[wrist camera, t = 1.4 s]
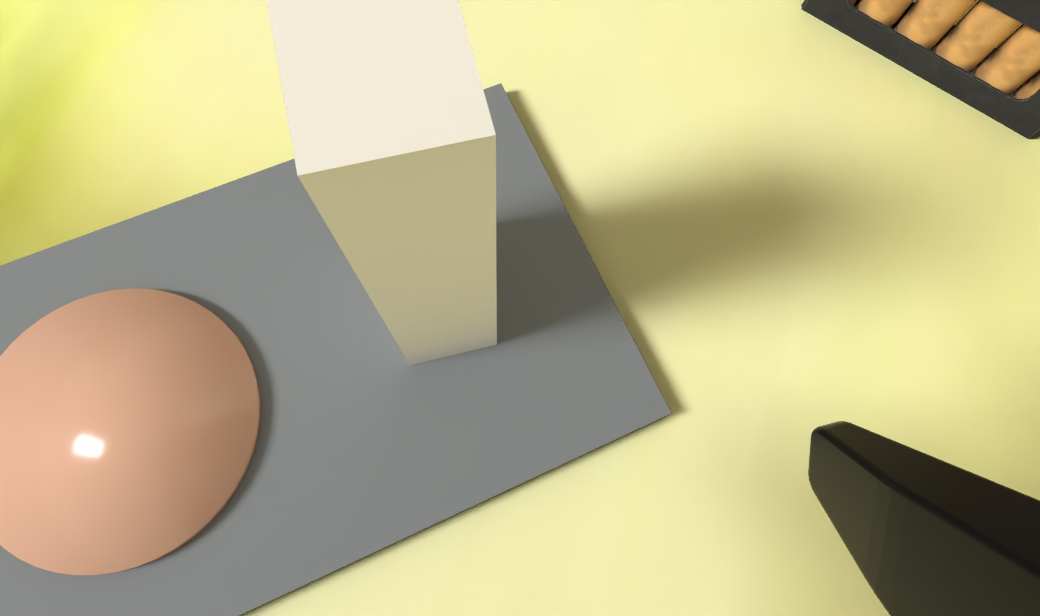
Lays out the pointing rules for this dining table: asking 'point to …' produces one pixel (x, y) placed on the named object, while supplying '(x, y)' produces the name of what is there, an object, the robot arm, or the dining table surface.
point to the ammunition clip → (955, 48)
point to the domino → (398, 159)
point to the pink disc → (121, 430)
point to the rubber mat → (347, 382)
